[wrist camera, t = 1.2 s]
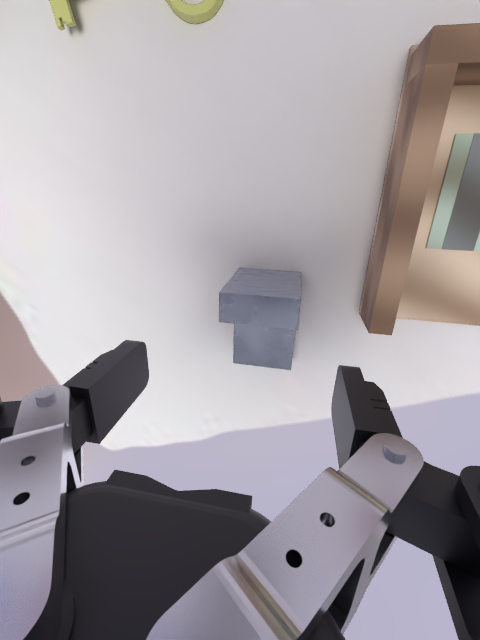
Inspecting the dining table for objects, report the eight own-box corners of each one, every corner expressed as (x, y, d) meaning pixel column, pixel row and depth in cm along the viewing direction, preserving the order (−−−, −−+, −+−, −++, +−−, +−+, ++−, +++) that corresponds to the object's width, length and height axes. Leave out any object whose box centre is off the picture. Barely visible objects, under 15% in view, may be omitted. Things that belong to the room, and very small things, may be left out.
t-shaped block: (239, 267, 25) (219, 292, 19) (300, 272, 24) (300, 299, 18) (237, 352, 28) (219, 397, 22) (291, 358, 27) (288, 407, 21)
